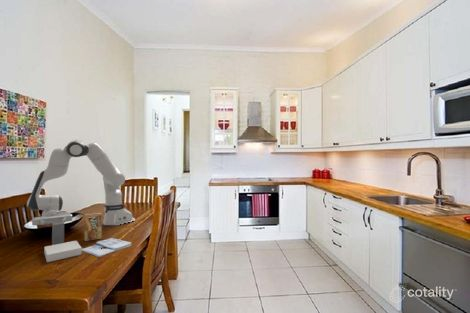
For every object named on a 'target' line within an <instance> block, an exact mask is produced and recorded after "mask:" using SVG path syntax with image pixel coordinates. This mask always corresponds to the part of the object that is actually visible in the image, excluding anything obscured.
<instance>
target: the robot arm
mask: <svg viewBox="0 0 470 313" xmlns="http://www.w3.org/2000/svg"><path fill="white" fill-rule="evenodd" d="M85 156H87V158H88V159H89V161H90V162H91V163H92V164H93V166H94V168H95V169H96V170H97V171H98V172H99V173H100V175H102V180H103V188H104V195H105V198H104V199H105V202H104V203H105V204H104V218H103V222H102V225H103V226H120V224H121V225H125V224H124V223H126V224H129V223H128V222H130V223H133V222H132V221H134V222H136V221H135V220H136V218H135V217H133V213H132V212H131V211H130V210H128V209H127V208H126V207H127V206H128V205H127V204H126V203H123V202H122V201H123V198H122V197H123V193H122V191H121V186H122V185H124V184H125V182H126V176H125V175H124V174H123V173H122V172H121V171H120V169H119V168H118V167H117V166H116V165H115V164H114V163H113V161H112V159H110V157H109V156H108V155H107V152H106V151H105V150H104V149H103V147H101V146H100V145H99V144H98V143H96V142H90V143H88V144H85V143H83V142H82V141H81V140H78V139H75V140H71V141H69V143H68V144H67V145H66V146H65V147H64V148H55V149H53V150H52V151H51V154H50V156H49V160H48V165H47V166H46V169H44V170H42V171H41V172H40V173H39V175H38V177H37V179H36V181H35V183H34V187H33V189H32V191H31V194H30V196H29V198H28V199H27V201H26V207H27V209H29V210H30V211H40V210H41V211H42V213H41V216H37V217H33V218H32V219H30V222H31V224H32V226H41V225H47V224H50V223H58V222H63V223H66V222H71V221H73V214H72V213H70V212H68V210H66V211H65V210H62V208H63V204H64V202H63V198H62V197H61V195H59V194H41V191H42V190H43V189H42V188H43V187H44V184H45V183H47V182H48V181H52V180H55V179H59V178H61V177H64V176H65V175H66V174H68V169H69V165H70V160H71V159H72V158H80V157H85Z"/></svg>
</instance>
